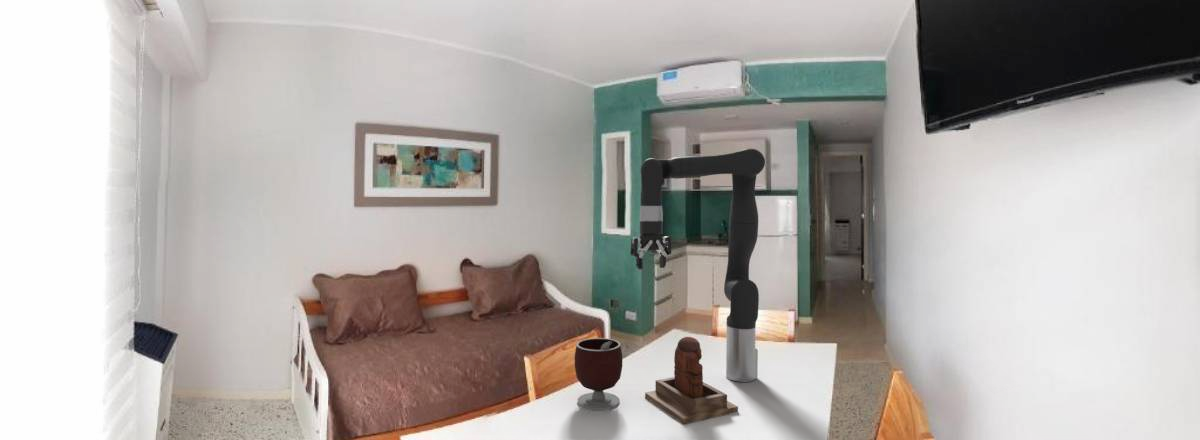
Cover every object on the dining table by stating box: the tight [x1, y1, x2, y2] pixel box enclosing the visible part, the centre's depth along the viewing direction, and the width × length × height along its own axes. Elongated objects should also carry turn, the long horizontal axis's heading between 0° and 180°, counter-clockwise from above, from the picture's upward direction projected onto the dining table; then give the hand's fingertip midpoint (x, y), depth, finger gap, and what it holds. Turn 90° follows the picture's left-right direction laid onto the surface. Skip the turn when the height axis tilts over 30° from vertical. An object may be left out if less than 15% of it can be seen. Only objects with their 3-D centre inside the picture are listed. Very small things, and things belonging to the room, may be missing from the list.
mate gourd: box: [574, 337, 623, 412], centre depth 145 cm, size 16×14×20 cm
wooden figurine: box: [673, 336, 704, 399], centre depth 144 cm, size 12×6×18 cm, turn 18°
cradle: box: [644, 376, 739, 425], centre depth 144 cm, size 18×20×5 cm
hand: (651, 268), depth 166 cm, fingers open, 8 cm apart
